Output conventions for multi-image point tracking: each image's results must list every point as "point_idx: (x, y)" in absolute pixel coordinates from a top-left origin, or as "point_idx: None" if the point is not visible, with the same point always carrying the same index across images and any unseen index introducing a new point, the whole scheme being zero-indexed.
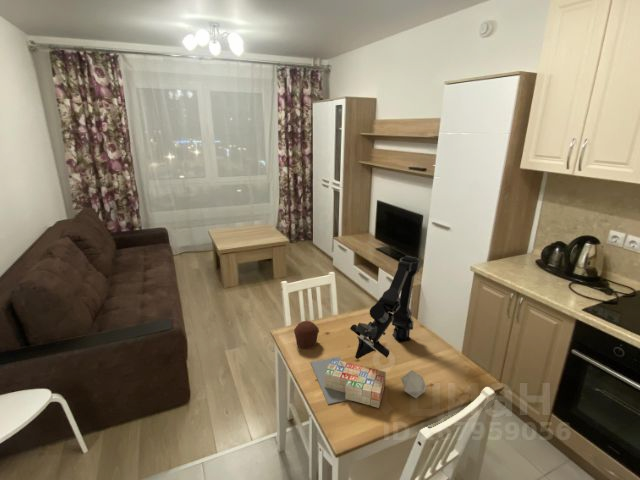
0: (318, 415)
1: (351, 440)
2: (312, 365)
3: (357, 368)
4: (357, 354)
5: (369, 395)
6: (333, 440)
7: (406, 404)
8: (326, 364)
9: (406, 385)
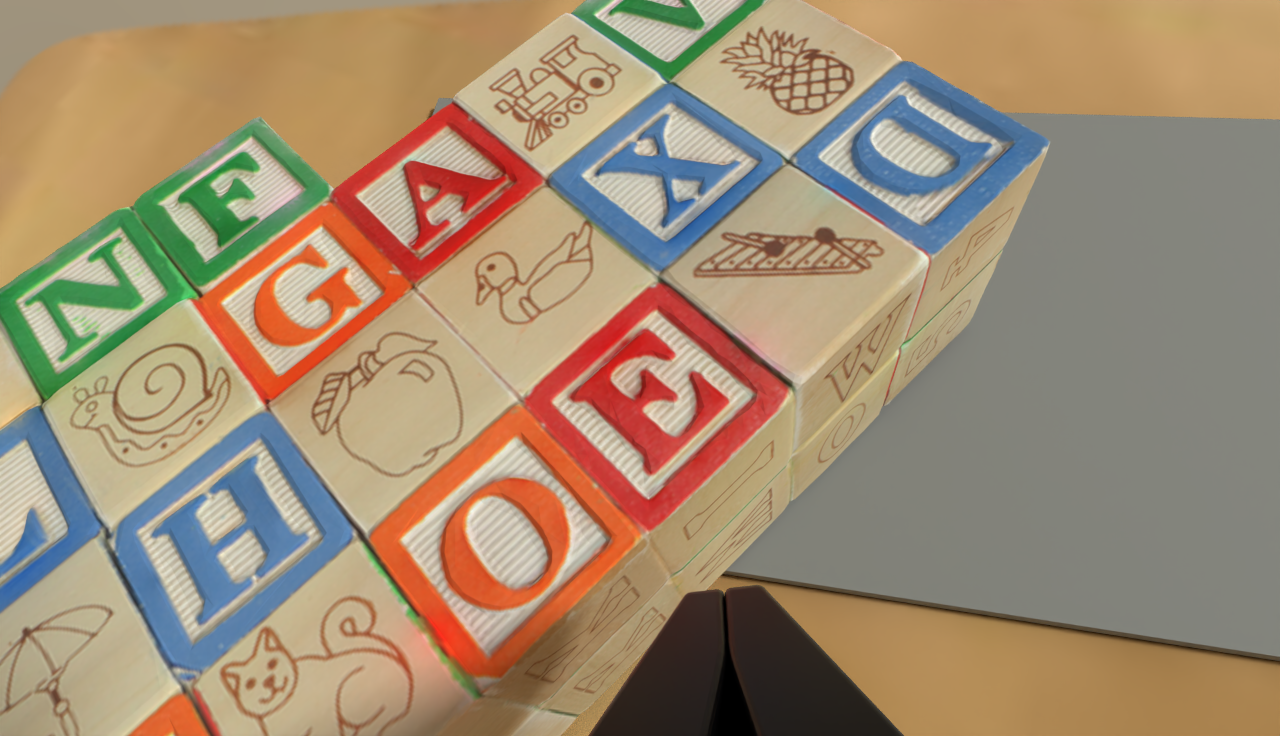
0: (387, 7)
1: (3, 151)
2: (1226, 126)
3: (480, 523)
4: (716, 649)
5: None
6: (112, 40)
7: None
8: (1210, 321)
9: None
